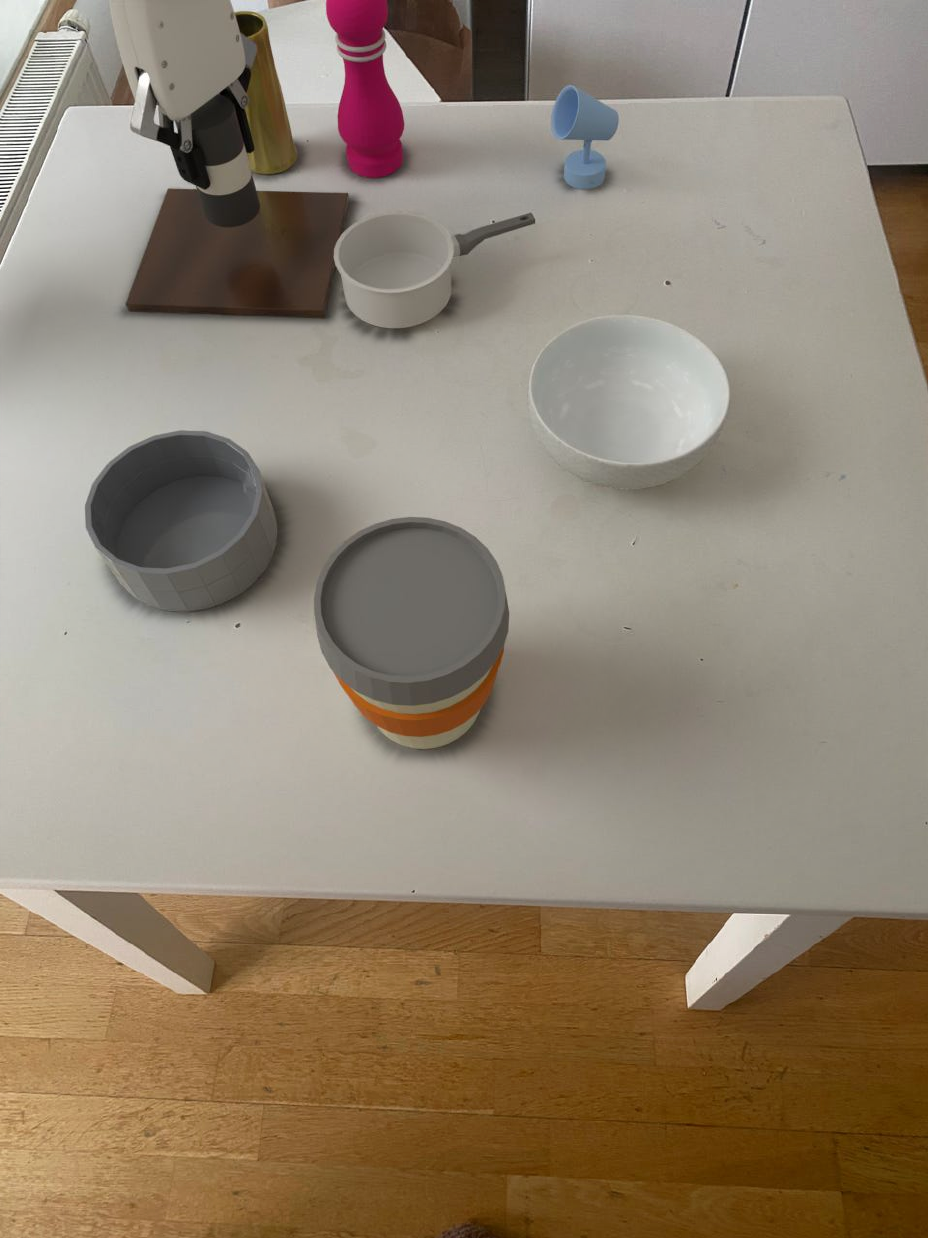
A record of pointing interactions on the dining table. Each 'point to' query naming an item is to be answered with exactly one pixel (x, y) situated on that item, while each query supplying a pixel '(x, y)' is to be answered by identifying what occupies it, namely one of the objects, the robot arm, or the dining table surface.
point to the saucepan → (404, 265)
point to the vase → (266, 103)
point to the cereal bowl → (627, 400)
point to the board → (242, 257)
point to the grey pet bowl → (182, 520)
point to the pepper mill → (366, 88)
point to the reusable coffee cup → (413, 627)
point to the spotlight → (583, 134)
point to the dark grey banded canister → (224, 164)
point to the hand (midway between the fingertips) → (218, 163)
